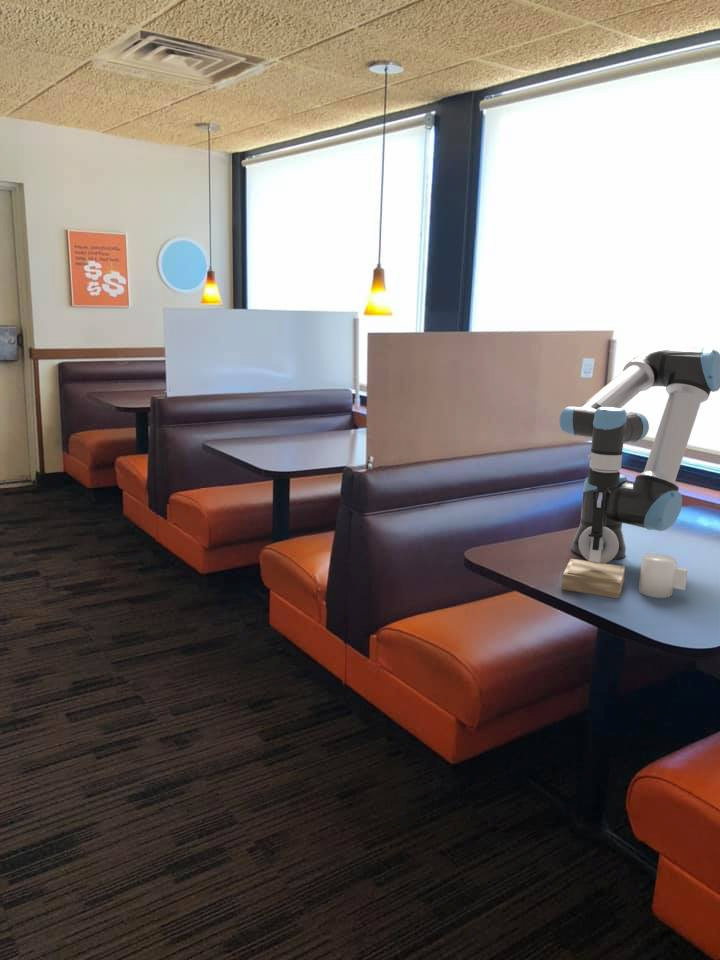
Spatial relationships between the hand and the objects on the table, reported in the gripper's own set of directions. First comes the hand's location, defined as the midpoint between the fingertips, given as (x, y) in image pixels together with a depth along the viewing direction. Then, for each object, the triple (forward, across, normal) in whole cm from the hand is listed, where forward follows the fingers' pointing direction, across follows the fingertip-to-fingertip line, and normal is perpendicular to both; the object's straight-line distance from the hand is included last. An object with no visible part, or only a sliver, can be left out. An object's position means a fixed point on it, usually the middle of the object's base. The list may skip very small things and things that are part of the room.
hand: (595, 558), depth 196 cm
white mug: (+7, -2, +16) cm, 18 cm away
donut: (+1, 0, 0) cm, 1 cm away
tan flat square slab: (+7, 0, 0) cm, 7 cm away
